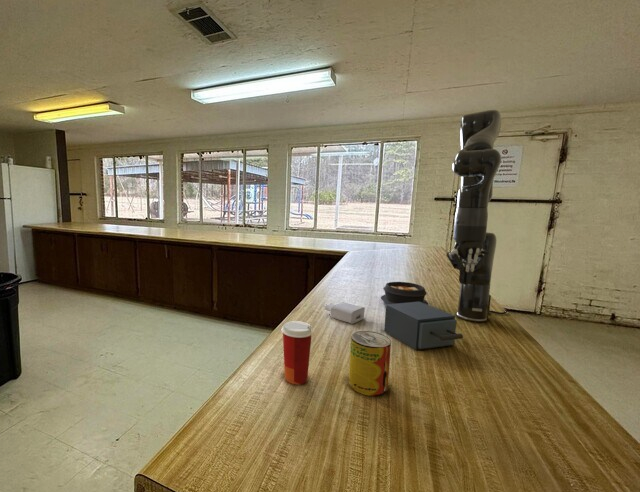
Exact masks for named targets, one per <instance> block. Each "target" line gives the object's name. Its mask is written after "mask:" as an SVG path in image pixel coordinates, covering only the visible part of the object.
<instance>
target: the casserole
mask: <svg viewBox="0 0 640 492" xmlns="http://www.w3.org/2000/svg"><path fill="white" fill-rule="evenodd" d="M382 289H383V291H384V294H382V295H381V296H380V300H381V301H382V302H383V303H384V305H385V306H386V304H397V303H409V302H422V303H424V304H427V305H429V302H428V301H427V300H426V299H425V297H426V296H427V295H428V292H427V291H426V288H425V287H424V286H422V285H420V284H417V283H413V282H407V281H390V282H386V283H385V286H383V288H382Z"/></svg>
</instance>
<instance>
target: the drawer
mask: <svg viewBox="0 0 640 492" xmlns="http://www.w3.org/2000/svg"><path fill="white" fill-rule="evenodd" d="M457 322H458V321H457V319H456V318H455V319H449V320H448V319H444V320H434V321H430V322H421V323H420V326H419V338H418V348H420V350H424V349H423V348H428V349H431V348H430V347H435V348H439V347H438V346H443V347H447V346H446V345H450V346H453V345H455V343H456V342H455V341H456V340H460V339H461V340H462V339H463V338H464V335H463V334H462V333H457V331H456V330H457Z"/></svg>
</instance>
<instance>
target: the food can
mask: <svg viewBox="0 0 640 492" xmlns="http://www.w3.org/2000/svg"><path fill="white" fill-rule="evenodd" d="M349 348H350V350H349V362H348V363H349V366H348V385H349V387H350V388H351V389H352V390H354V391H355V392H357V393H359V394H362V395H365V396H369V397H380V396H384V395H386V394H387V393H388V390H389V377H390V361H391V349H392V340H391V338H390V337H388V336H386V335H385V334H382V333H379V332H376V331H370V330H358V331H354V332H352V333H351V335H350V347H349Z"/></svg>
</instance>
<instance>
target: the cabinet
mask: <svg viewBox="0 0 640 492" xmlns="http://www.w3.org/2000/svg"><path fill="white" fill-rule="evenodd" d="M384 312H385V314H384V327H383V328H384V329H383V330H384V332H385V333H386V334H388V335H390V336H391V337H393V338H395V339H396V340H398V341H400V342H402V343H403V344H405V345H406V346H408V347H410V348H411V349H413V350H414V351H419V350H420V351H421V349H420V348H418V338H419V326H420V322H425V321H434V320H444V319H448V320H449V319H455V320H456V315H455V314H451V313H449V312H447V311H444V310H441V309H439V308H437V307H434V306H431V305H429V304H428V305H427V304H424V303H422V302H409V303H397V304H386V305H385V311H384ZM449 346H451V345H446V346H445V347H449ZM441 347H444V346H438V347H437V348H441ZM435 348H436V347H430V348H423V349H422V350H426V349H427V350H428V349H435Z"/></svg>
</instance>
